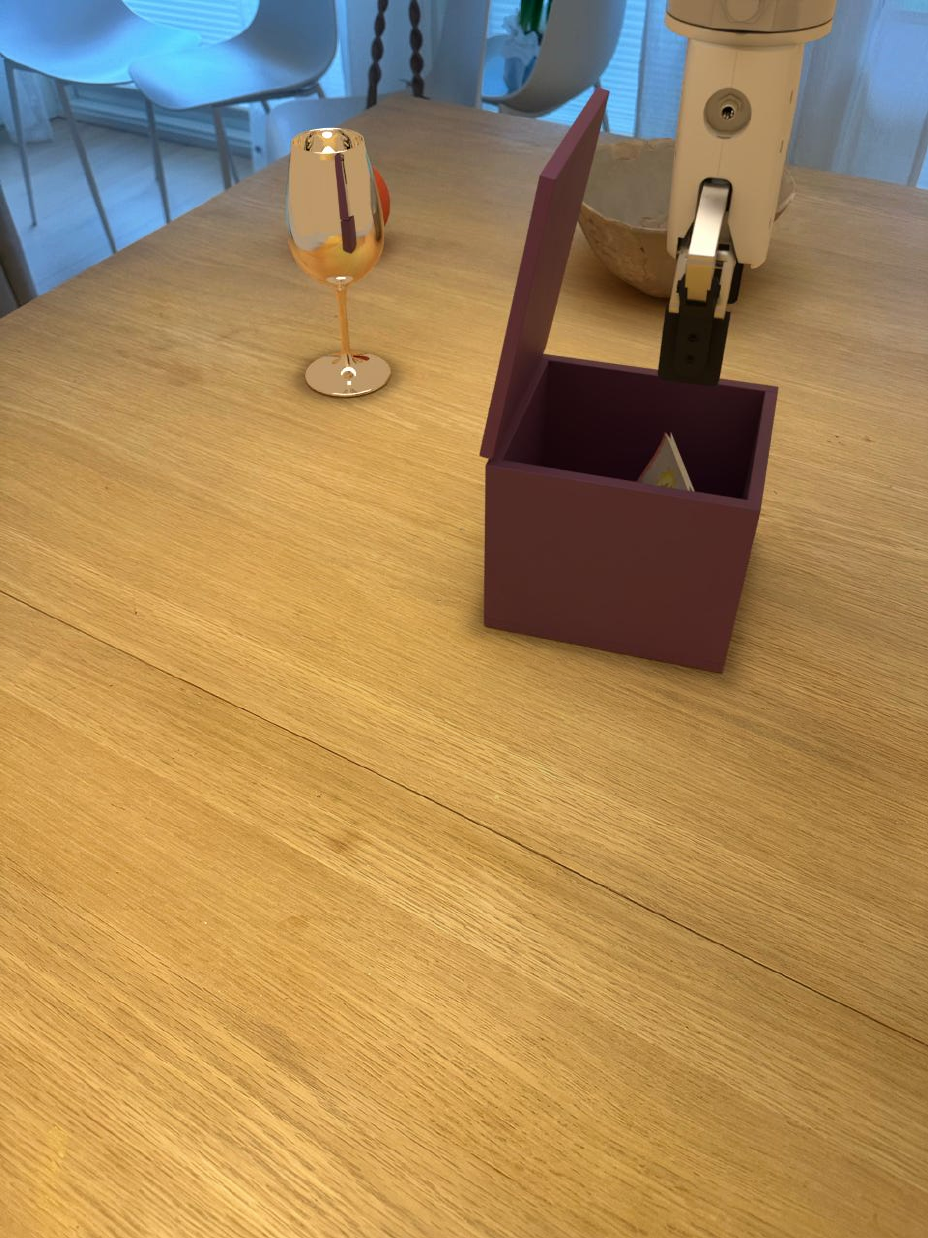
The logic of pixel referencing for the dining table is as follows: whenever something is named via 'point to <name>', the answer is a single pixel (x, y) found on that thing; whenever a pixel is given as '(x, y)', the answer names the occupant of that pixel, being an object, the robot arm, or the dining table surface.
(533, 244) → the purple box lid
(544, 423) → the purple box
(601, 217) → the ceramic bowl
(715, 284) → the robot arm
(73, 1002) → the dining table surface
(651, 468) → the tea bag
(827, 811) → the dining table surface
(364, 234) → the wineglass
